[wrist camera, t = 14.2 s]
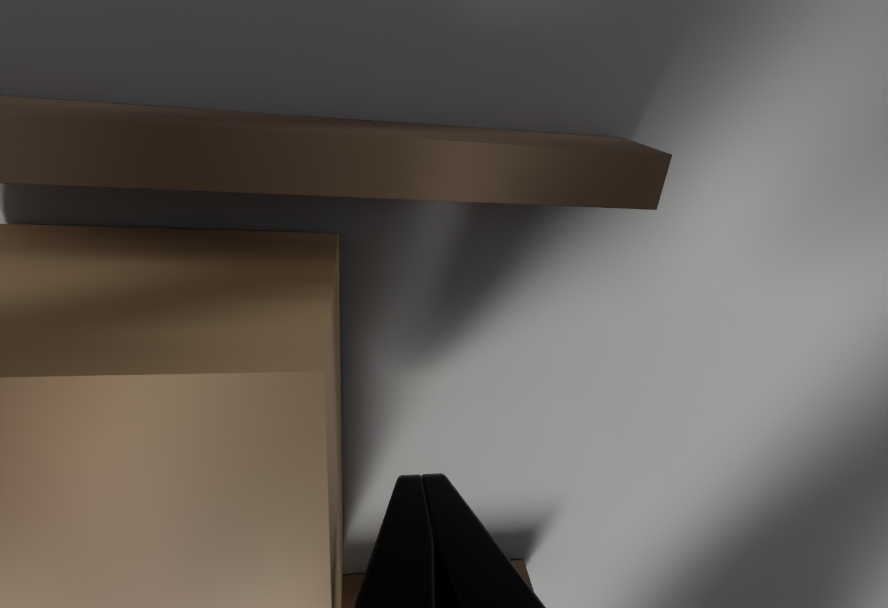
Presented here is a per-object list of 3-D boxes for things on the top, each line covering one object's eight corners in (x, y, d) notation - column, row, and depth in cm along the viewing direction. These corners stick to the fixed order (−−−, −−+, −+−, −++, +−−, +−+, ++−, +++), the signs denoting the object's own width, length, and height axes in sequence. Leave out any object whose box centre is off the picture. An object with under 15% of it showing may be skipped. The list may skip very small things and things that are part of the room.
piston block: (338, 233, 8) (323, 370, 5) (342, 552, 12) (336, 766, 8) (-4, 223, 7) (-331, 383, 4) (112, 571, 11) (-2, 816, 7)
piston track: (622, 137, 8) (671, 154, 7) (512, 605, 14) (528, 663, 13) (-855, 37, 5) (-1252, 33, 4) (-231, 684, 11) (-309, 769, 10)
